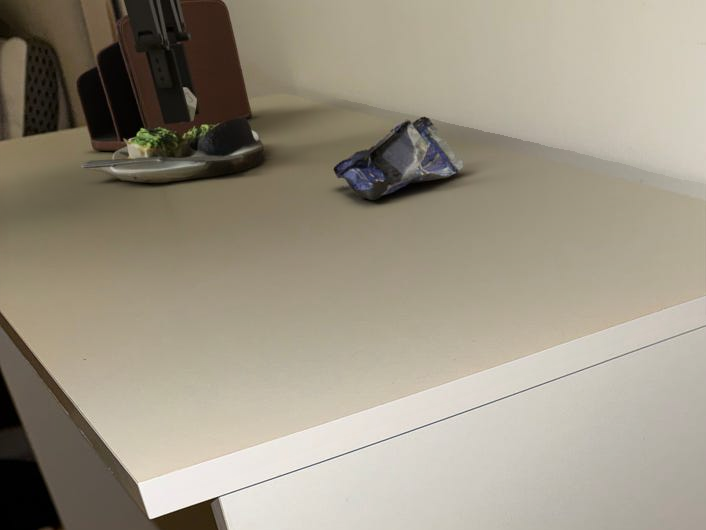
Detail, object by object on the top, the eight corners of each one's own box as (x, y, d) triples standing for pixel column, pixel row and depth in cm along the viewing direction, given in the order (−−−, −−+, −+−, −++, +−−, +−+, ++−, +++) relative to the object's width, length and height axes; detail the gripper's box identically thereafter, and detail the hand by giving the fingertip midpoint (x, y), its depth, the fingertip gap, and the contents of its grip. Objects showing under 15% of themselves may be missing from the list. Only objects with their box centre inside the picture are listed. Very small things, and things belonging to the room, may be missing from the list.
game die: (160, 123, 100) (151, 92, 98) (187, 116, 102) (179, 85, 100) (181, 125, 98) (172, 93, 96) (208, 117, 100) (200, 86, 98)
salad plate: (81, 200, 94) (65, 150, 91) (93, 164, 108) (79, 120, 105) (271, 172, 97) (261, 123, 94) (259, 141, 111) (250, 97, 108)
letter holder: (253, 117, 124) (226, -11, 115) (154, 153, 110) (115, 11, 101) (195, 117, 127) (164, -7, 118) (92, 152, 114) (49, 15, 105)
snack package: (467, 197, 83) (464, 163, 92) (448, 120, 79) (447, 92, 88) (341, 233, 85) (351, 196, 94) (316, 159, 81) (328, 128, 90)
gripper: (124, -178, 79) (199, 131, 93) (172, -169, 92) (232, 100, 106) (38, -168, 79) (126, 138, 94) (98, -161, 92) (167, 107, 107)
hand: (182, 117), depth 100 cm, fingers closed on game die, 4 cm apart
